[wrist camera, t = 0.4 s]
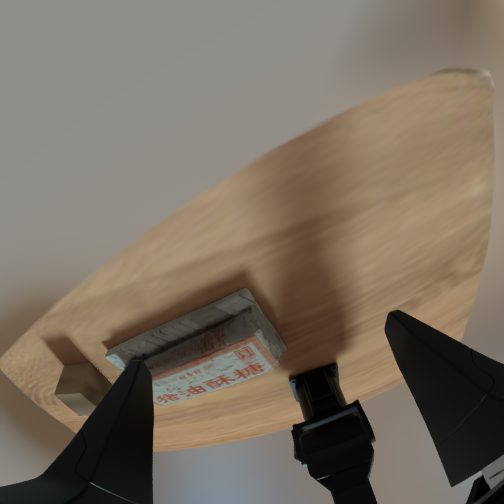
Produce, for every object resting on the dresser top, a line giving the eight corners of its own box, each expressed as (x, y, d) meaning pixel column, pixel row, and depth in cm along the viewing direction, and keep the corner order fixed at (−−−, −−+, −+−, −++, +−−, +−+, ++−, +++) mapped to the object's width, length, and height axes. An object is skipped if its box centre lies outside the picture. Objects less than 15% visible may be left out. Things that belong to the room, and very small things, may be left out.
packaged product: (253, 316, 21) (296, 375, 26) (245, 280, 25) (285, 342, 30) (97, 379, 23) (157, 421, 28) (106, 346, 27) (159, 390, 32)
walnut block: (112, 384, 30) (106, 415, 26) (86, 387, 30) (79, 415, 26) (90, 361, 28) (80, 393, 23) (64, 365, 28) (54, 394, 23)
